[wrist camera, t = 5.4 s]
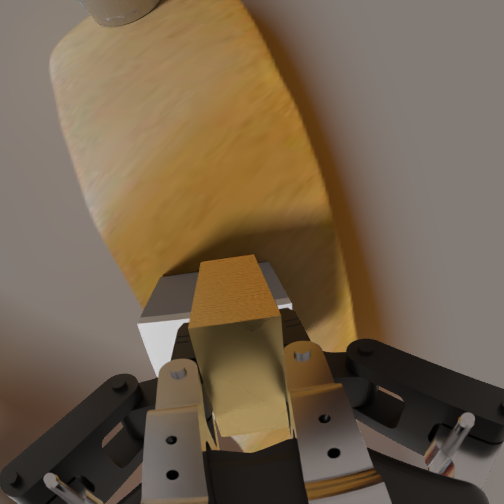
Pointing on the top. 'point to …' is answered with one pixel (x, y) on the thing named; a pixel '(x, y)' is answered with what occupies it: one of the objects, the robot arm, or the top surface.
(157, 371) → the coin box
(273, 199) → the top surface
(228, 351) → the tan rectangular block
